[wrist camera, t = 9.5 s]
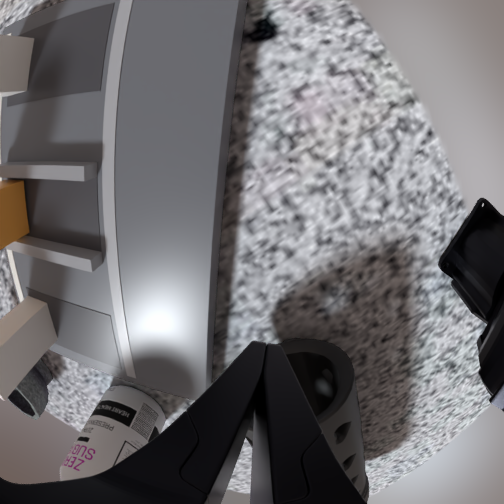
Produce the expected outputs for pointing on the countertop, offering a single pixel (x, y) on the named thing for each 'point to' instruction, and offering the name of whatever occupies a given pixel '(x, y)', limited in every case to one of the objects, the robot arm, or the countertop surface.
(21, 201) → the orange tall block
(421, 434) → the countertop surface
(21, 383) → the mortar and pestle
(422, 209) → the countertop surface
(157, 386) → the slotted gray tray
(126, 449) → the supplement can
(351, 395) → the muzzle brake
